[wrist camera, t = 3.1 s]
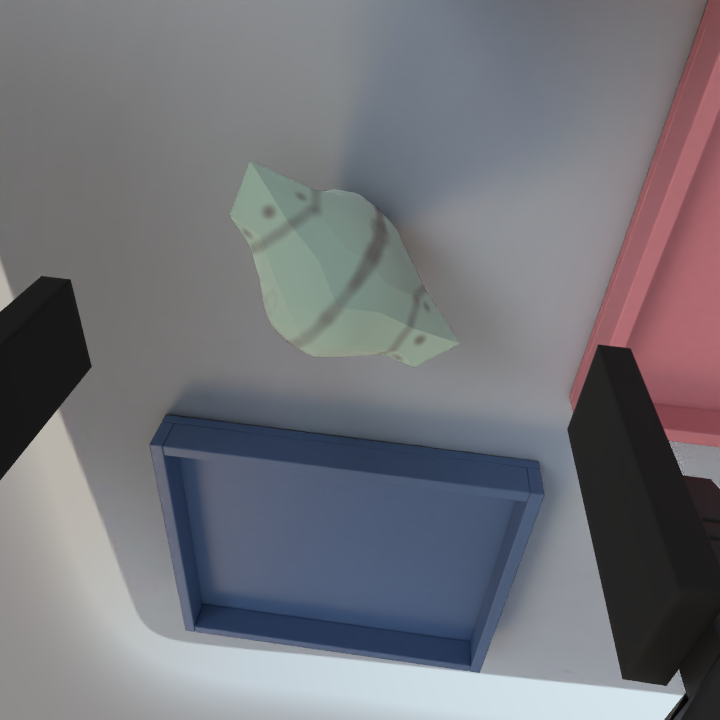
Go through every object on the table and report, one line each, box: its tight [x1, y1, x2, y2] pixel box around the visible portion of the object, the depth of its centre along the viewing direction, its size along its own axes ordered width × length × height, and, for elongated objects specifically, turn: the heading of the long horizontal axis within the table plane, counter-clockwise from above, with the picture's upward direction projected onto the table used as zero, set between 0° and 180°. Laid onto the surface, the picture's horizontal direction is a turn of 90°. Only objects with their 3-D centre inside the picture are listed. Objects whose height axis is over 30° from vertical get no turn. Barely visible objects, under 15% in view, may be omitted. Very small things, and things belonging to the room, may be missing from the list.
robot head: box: [230, 161, 460, 368], centre depth 19 cm, size 8×4×7 cm, turn 48°
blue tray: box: [150, 415, 544, 673], centre depth 32 cm, size 17×15×2 cm
